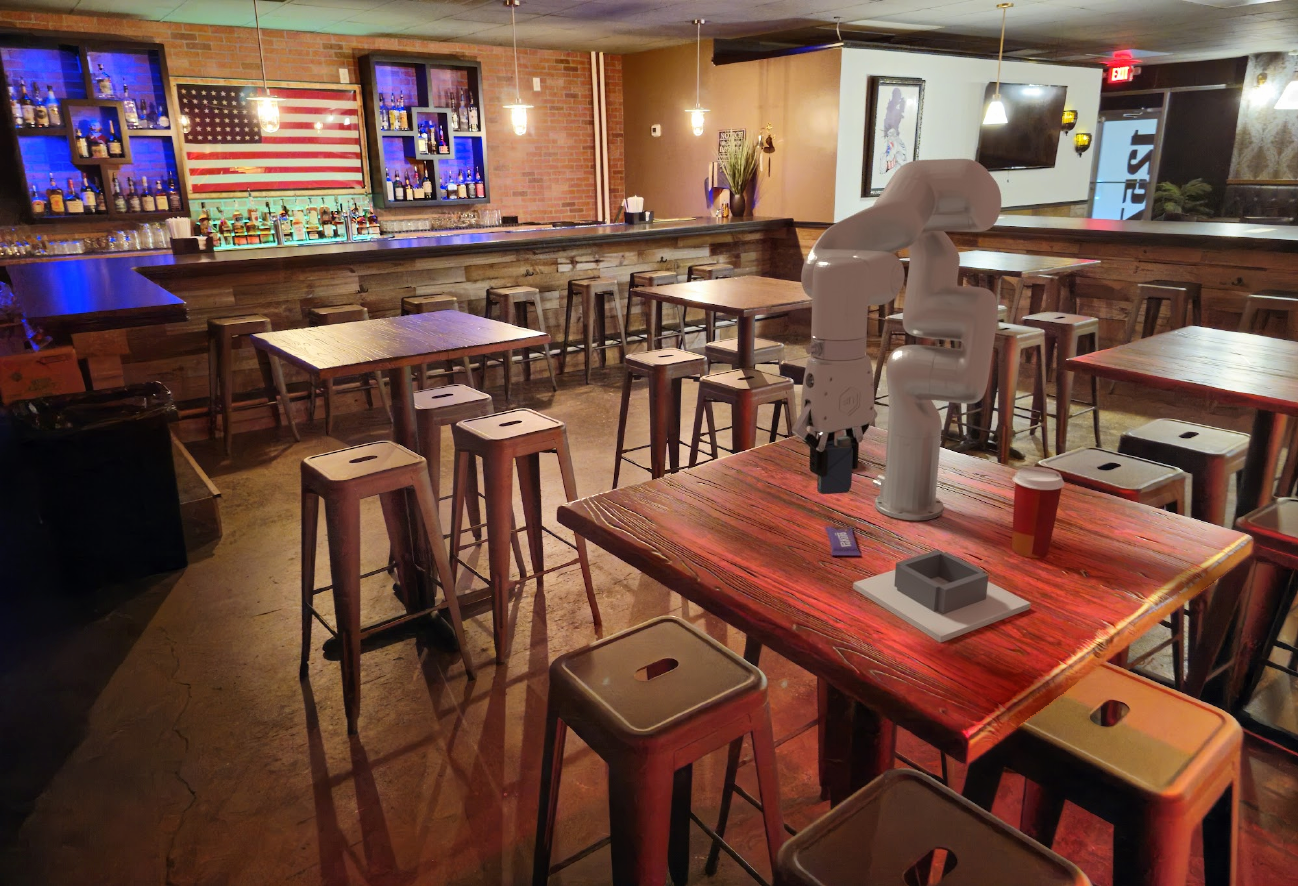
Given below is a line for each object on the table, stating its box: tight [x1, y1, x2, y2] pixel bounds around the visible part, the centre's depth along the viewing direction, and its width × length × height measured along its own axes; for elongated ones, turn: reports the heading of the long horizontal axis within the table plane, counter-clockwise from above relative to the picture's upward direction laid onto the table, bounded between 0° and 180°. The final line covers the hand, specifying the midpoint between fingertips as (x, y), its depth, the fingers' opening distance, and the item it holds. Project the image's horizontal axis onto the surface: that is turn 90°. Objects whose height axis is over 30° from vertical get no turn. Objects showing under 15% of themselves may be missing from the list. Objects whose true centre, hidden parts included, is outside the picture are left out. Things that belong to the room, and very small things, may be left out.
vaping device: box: [816, 432, 853, 495], centre depth 120 cm, size 3×5×12 cm, turn 95°
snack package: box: [824, 526, 862, 556], centre depth 145 cm, size 12×2×5 cm
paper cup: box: [1011, 466, 1066, 559], centre depth 137 cm, size 8×8×14 cm
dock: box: [852, 549, 1031, 644], centre depth 125 cm, size 18×18×5 cm
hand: (833, 468), depth 120 cm, fingers closed on vaping device, 4 cm apart
